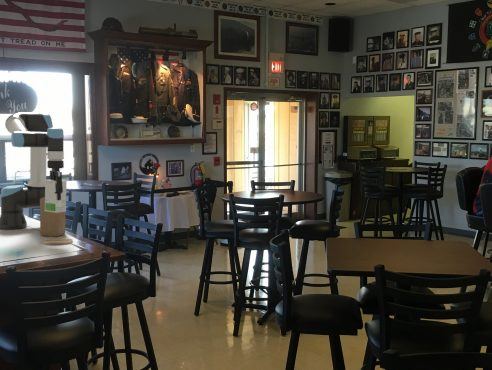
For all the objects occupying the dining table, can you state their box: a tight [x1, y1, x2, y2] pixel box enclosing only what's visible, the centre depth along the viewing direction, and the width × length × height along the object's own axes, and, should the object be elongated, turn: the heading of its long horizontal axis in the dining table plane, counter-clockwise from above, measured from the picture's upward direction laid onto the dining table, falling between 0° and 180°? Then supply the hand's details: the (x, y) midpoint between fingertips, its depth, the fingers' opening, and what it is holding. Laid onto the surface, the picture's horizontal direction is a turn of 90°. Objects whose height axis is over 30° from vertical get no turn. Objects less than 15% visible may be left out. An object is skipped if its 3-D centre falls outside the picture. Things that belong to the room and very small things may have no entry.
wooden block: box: [39, 197, 66, 237], centre depth 293 cm, size 10×10×20 cm
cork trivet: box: [42, 237, 74, 246], centre depth 275 cm, size 14×14×1 cm
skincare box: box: [45, 179, 67, 213], centre depth 272 cm, size 8×7×16 cm
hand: (55, 205), depth 273 cm, fingers closed on skincare box, 10 cm apart
